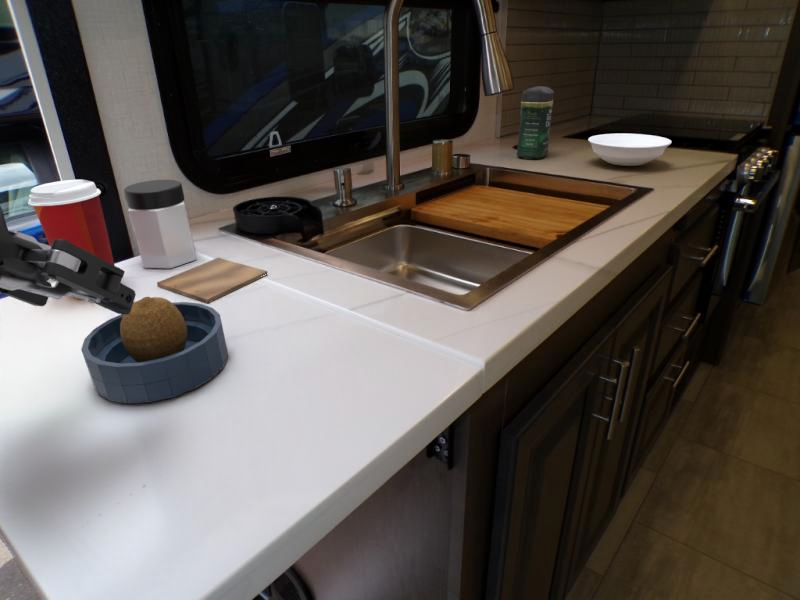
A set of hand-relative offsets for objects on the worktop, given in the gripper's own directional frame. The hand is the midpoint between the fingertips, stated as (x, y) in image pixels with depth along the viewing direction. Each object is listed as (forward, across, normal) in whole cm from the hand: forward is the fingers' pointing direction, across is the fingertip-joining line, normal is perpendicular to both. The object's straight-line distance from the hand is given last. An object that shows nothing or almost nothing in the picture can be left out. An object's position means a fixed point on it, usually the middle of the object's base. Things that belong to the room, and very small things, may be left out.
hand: (87, 299), depth 45 cm
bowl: (+89, +61, +73) cm, 130 cm away
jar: (+33, -18, +16) cm, 41 cm away
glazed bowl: (+13, 0, -3) cm, 13 cm away
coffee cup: (+24, -22, +7) cm, 33 cm away
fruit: (+13, 0, -3) cm, 13 cm away
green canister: (+95, +38, +79) cm, 129 cm away
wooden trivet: (+28, -7, +12) cm, 31 cm away
